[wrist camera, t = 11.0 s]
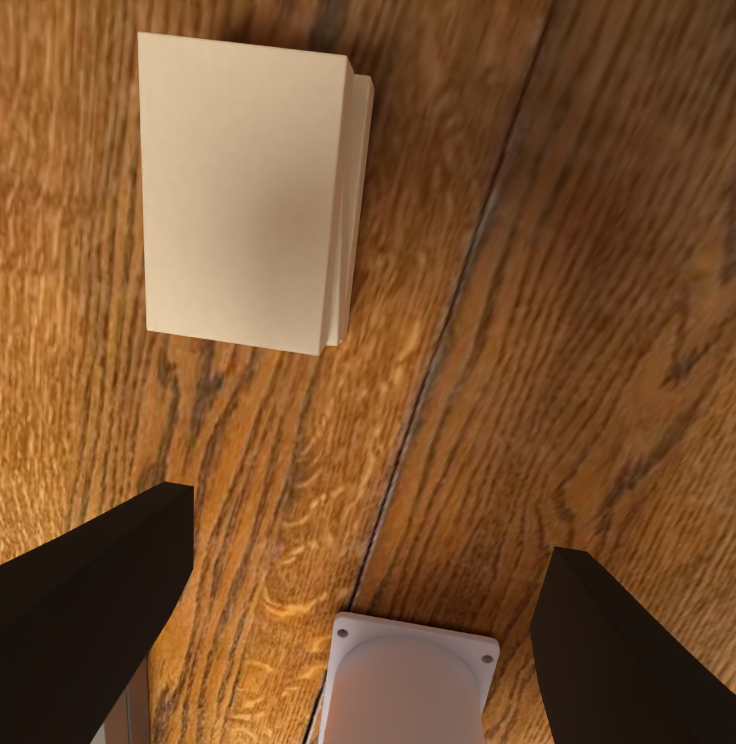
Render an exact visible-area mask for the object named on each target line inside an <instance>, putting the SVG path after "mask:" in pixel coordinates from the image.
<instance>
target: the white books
mask: <svg viewBox="0 0 736 744" xmlns="http://www.w3.org/2000/svg"><path fill="white" fill-rule="evenodd" d="M374 90H375V89H374V85H373V82H372V80H371V77H370V76H367V75H359V74H354V76H353V86H352V96H351V106H350V116H349V126H348V136H347V146H346V156H345V166H344V176H343V186H342V196H341V206H340V216H339V226H338V236H337V246H336V256H335V266H334V276H333V286H332V296H331V307H330V317H329V327H328V337H327V344H326V345H330V346H337V345H338V344H339V343H341V342H342V340H343V339H344V337H345V335H346V333H347V328H348V319H349V310H350V302H351V293H352V284H353V275H354V266H355V258H356V249H357V240H358V231H359V222H360V213H361V205H362V196H363V187H364V178H365V169H366V161H367V152H368V143H369V134H370V125H371V117H372V108H373V99H374Z"/></svg>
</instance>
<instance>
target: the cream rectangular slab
mask: <svg viewBox="0 0 736 744" xmlns="http://www.w3.org/2000/svg"><path fill="white" fill-rule="evenodd" d="M138 60H139V93H140V126H141V158H142V191H143V224H144V256H145V289H146V321H147V330H149V331H155V332H162V333H169V334H176V335H182V336H189V337H196V338H202V339H209V340H216V341H222V342H229V343H236V344H243V345H249V346H256V347H263V348H269V349H276V350H283V351H289V352H296V353H303V354H310V355H316V356H318V355H319V354H320V353H321V351H322V350H323V348H324V347H325V345H326V344H327V337H328V327H329V317H330V307H331V296H332V286H333V276H334V266H335V256H336V246H337V236H338V226H339V216H340V206H341V196H342V186H343V176H344V166H345V156H346V146H347V136H348V126H349V116H350V106H351V96H352V86H353V76H354V71H353V69H352V66H351V64H350V62H349V60H348V57H347V56H346V55H339V54H330V53H322V52H313V51H304V50H296V49H287V48H279V47H270V46H261V45H253V44H244V43H236V42H227V41H218V40H210V39H201V38H193V37H184V36H175V35H167V34H158V33H150V32H141V31H140V32H138Z"/></svg>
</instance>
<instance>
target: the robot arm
mask: <svg viewBox="0 0 736 744" xmlns="http://www.w3.org/2000/svg"><path fill="white" fill-rule="evenodd" d="M193 549H194V486H188V485H182V484H176V483H170V482H163V483H161V484H159V485H156V486H154V487H152V488H150V489H148V490H146V491H144V492H143V493H141V494H139V495H137V496H135V497H133V498H131V499H129V500H128V501H126V502H124V503H122V504H120V505H118V506H116V507H115V508H113V509H111V510H109V511H107V512H105V513H103V514H101V515H100V516H98V517H96V518H94V519H92V520H90V521H88V522H86V523H84V524H82V525H81V526H79V527H77V528H75V529H73V530H71V531H69V532H67V533H65V534H63V535H62V536H60V537H58V538H55V539H53V540H51V541H49V542H47V543H45V544H43V545H41V546H39V547H37V548H35V549H33V550H31V551H29V552H27V553H25V554H22V555H20V556H18V557H16V558H14V559H12V560H10V561H8V562H6V563H4V564H2V565H0V744H90V743H91V742H92V740H93V738H94V737H95V735H96V734H97V732H98V730H99V729H100V727H101V726H102V724H103V723H104V721H105V719H106V718H107V716H108V715H109V713H110V712H111V710H112V708H113V707H114V705H115V704H116V702H117V701H118V699H119V697H120V696H121V694H122V693H123V691H124V690H125V688H126V686H127V685H128V683H129V682H130V680H131V679H132V677H133V675H134V674H135V672H136V671H137V669H138V668H139V666H140V664H141V663H142V661H143V660H144V658H145V657H146V655H147V653H148V652H149V650H150V649H151V647H152V645H153V644H154V642H155V641H156V639H157V637H158V636H159V634H160V633H161V631H162V629H163V628H164V626H165V625H166V623H167V621H168V620H169V618H170V616H171V614H172V612H173V610H174V608H175V606H176V604H177V602H178V600H179V598H180V596H181V594H182V592H183V590H184V588H185V585H186V583H187V581H188V579H189V577H190V575H191V573H192V570H193ZM340 629H344V630H346V631H342V630H340ZM530 633H531V640H532V647H533V654H534V661H535V666H536V672H537V678H538V684H539V688H540V691H541V695H542V699H543V703H544V706H545V710H546V714H547V717H548V721H549V725H550V728H551V732H552V736H553V739H554V743H555V744H736V695H735V694H734V693H733V692H732V691H730V690H729V689H728V688H727V687H726V686H725V685H724V684H723V683H722V682H721V681H719V680H718V679H717V678H716V677H715V676H714V675H713V674H712V673H711V672H710V671H708V670H707V669H706V668H705V667H704V666H703V665H702V664H701V663H700V662H699V661H698V660H697V659H696V658H695V657H694V656H693V655H692V654H690V653H689V652H688V651H687V650H686V649H685V648H684V647H683V646H682V645H681V644H680V643H679V642H678V641H677V640H676V639H675V638H674V637H673V636H672V635H671V634H670V633H669V632H668V631H667V630H666V629H665V628H664V627H663V626H662V625H661V624H660V623H659V622H658V621H657V620H656V619H655V618H654V617H653V616H652V615H651V614H650V613H649V612H648V611H647V610H646V609H645V608H644V607H643V606H642V605H641V604H640V603H639V602H638V601H637V600H636V599H635V598H634V597H633V596H632V595H631V594H630V593H629V592H628V591H627V590H626V589H625V588H624V587H623V586H622V585H621V584H620V583H619V582H618V581H617V580H616V579H615V578H614V577H613V576H612V575H611V574H610V573H609V572H608V571H607V570H606V569H605V568H604V567H603V566H602V565H601V564H600V563H599V562H597V561H596V560H595V559H594V558H593V557H592V556H591V555H590V554H589V553H588V552H586V551H580V550H574V549H568V548H562V547H556V546H555V547H554V550H553V553H552V557H551V560H550V563H549V566H548V570H547V573H546V576H545V579H544V582H543V586H542V589H541V592H540V595H539V599H538V602H537V605H536V608H535V611H534V615H533V618H532V621H531V624H530ZM499 654H500V647H499V643H498V641H497V640H495V639H494V638H491V637H486V636H480V635H474V634H469V633H463V632H457V631H452V630H446V629H440V628H435V627H429V626H423V625H418V624H412V623H406V622H401V621H395V620H389V619H384V618H378V617H372V616H367V615H361V614H355V613H350V612H340V613H338V614H337V615H336V616H335V619H334V624H333V632H332V640H331V647H330V655H329V662H328V670H327V678H326V685H325V693H324V700H323V708H322V716H321V723H320V731H319V739H318V744H485V742H484V734H483V726H482V718H481V716H482V712H483V709H484V706H485V702H486V699H487V695H488V692H489V688H490V685H491V681H492V678H493V675H494V671H495V668H496V664H497V661H498V657H499ZM485 655H489V656H485Z"/></svg>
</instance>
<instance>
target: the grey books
mask: <svg viewBox="0 0 736 744" xmlns="http://www.w3.org/2000/svg"><path fill="white" fill-rule="evenodd" d="M90 744H150V734H149V709H148V684H147V659H146V657H145V658H144V660H143V661H142V663H141V664H140V666H139V668H138V669H137V671H136V672H135V674H134V675H133V677H132V679H131V680H130V682H129V683H128V685H127V686H126V688H125V690H124V691H123V693H122V694H121V696H120V697H119V699H118V701H117V702H116V704H115V705H114V707H113V708H112V710H111V712H110V713H109V715H108V716H107V718H106V719H105V721H104V723H103V724H102V726H101V727H100V729H99V730H98V732H97V734H96V735H95V737H94V738H93V740H92V742H91V743H90Z"/></svg>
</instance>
